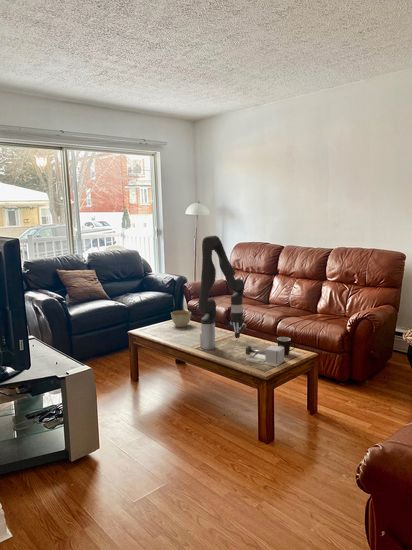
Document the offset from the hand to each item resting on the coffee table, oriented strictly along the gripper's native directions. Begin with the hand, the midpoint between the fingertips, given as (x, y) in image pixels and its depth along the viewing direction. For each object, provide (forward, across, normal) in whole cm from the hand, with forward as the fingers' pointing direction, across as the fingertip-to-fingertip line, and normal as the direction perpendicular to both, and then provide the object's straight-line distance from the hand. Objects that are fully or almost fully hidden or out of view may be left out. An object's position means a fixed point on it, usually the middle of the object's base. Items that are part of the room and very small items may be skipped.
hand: (237, 338), depth 257 cm
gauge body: (+12, +19, 0) cm, 22 cm away
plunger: (+10, +14, -1) cm, 17 cm away
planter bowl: (+10, -72, +39) cm, 82 cm away
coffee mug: (+12, +26, +15) cm, 32 cm away
